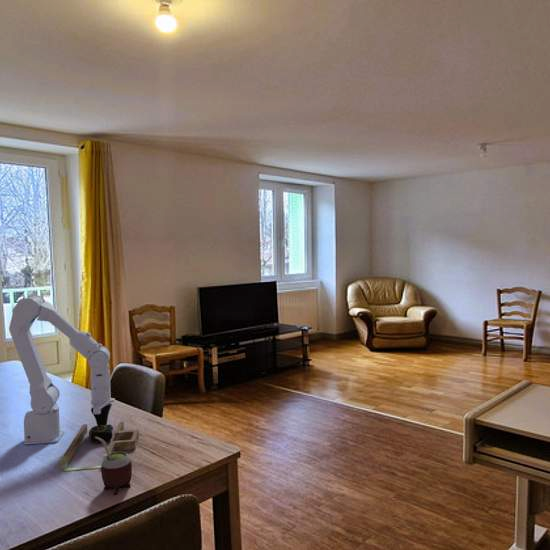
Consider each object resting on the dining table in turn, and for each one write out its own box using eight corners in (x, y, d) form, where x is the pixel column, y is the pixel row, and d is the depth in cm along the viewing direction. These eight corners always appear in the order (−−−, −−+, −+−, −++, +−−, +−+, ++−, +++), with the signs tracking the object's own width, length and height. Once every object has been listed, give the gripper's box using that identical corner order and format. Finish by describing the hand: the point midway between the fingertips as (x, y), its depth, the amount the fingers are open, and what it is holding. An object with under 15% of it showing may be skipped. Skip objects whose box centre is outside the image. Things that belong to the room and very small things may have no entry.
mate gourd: (134, 479, 118) (132, 421, 117) (129, 496, 110) (127, 434, 109) (103, 482, 116) (101, 423, 115) (96, 499, 109) (93, 436, 108)
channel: (58, 471, 122) (58, 461, 122) (82, 432, 148) (82, 423, 148) (130, 465, 125) (130, 455, 125) (141, 427, 151) (141, 419, 151)
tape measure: (112, 443, 140) (112, 430, 140) (88, 446, 138) (87, 433, 138) (113, 434, 146) (112, 422, 146) (89, 437, 144) (89, 425, 144)
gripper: (109, 392, 140) (111, 436, 141) (117, 378, 154) (119, 418, 155) (85, 394, 138) (87, 438, 139) (95, 380, 153) (96, 420, 154)
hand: (102, 428), depth 147 cm, fingers closed
